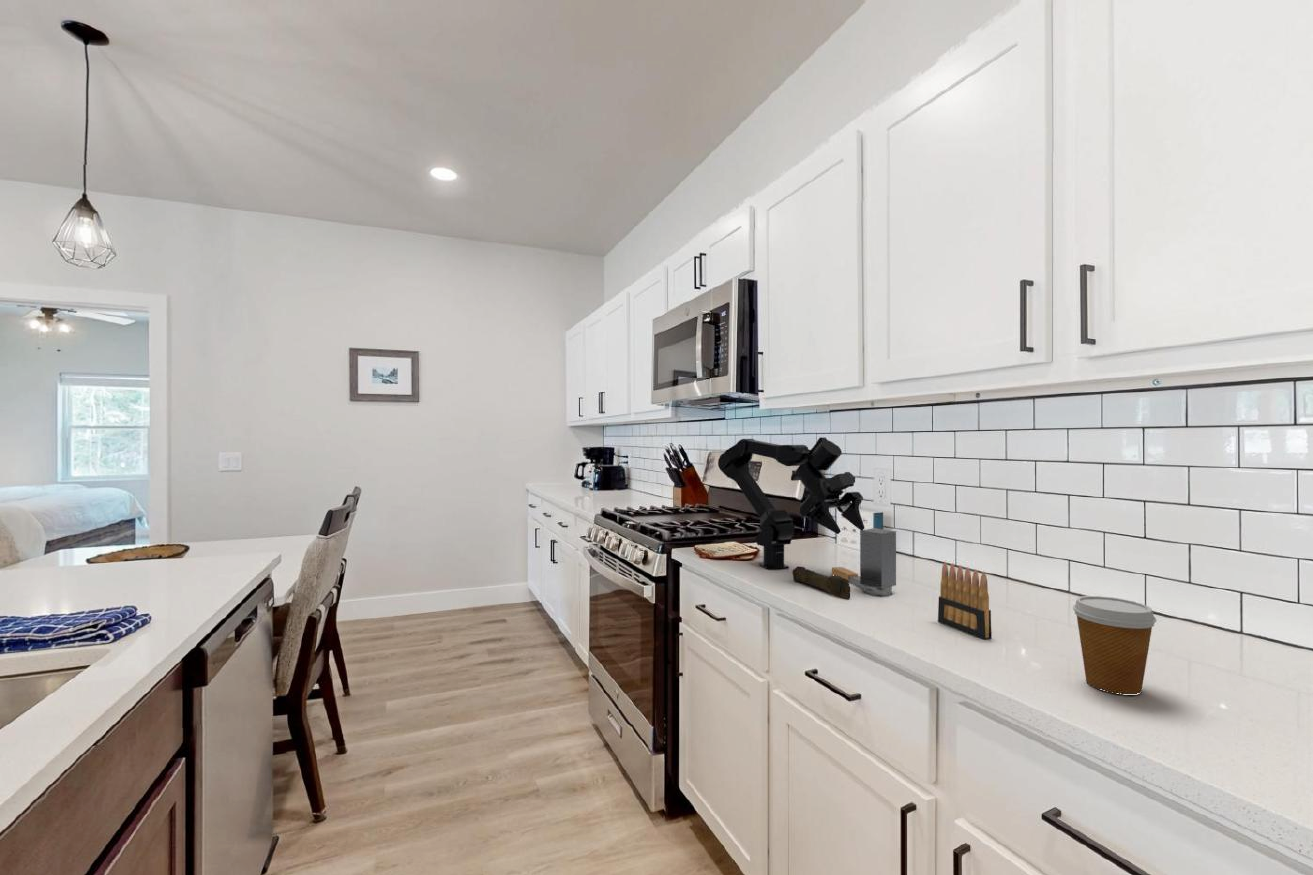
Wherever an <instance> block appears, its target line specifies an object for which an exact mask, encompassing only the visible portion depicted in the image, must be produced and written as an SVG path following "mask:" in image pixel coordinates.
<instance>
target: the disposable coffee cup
mask: <svg viewBox="0 0 1313 875" xmlns="http://www.w3.org/2000/svg"><path fill="white" fill-rule="evenodd" d="M1072 609H1073V611H1074V614H1075V615H1076V619H1077V627H1078V634H1079V642H1080V648H1081V654H1082V660H1083V666H1084V675H1085V681H1087V682H1088V683H1089V684H1090V685H1092V686H1094V687H1096V688H1098V689H1097V690H1099V689H1102V690H1105V691H1108V692H1113V693H1119V694H1120V693H1121V694H1137V693H1140V692H1141V691H1143V690H1142V689H1143V683H1144V678H1145V672H1146V668H1147V667H1146V666H1147V661H1148V660H1147V659H1148V655H1149V648H1150V641H1151V637H1152V636H1151V635H1152V630H1153V627H1154V626H1155V623H1156V622H1157V621H1158V620H1157V617H1156V616H1155V615H1154V612H1153V609H1152V607H1150V606H1148V605H1146V604H1143V603H1140V602H1136V601H1133V600H1128V599H1124V598H1117V597H1113V596H1112V597H1111V596H1110V597H1109V596H1103V595H1102V596H1101V595H1100V596H1099V595H1082V596H1079V597H1077V598H1076V600H1075V604H1074V605H1073V606H1072ZM1087 682H1086V683H1087ZM1088 683H1087V684H1088ZM1089 684H1088V685H1089ZM1090 685H1089V686H1090ZM1092 686H1091V687H1092ZM1094 687H1093V688H1094ZM1096 688H1095V689H1096ZM1108 692H1107V693H1108ZM1141 693H1142V692H1141Z"/></svg>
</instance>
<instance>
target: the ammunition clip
mask: <svg viewBox="0 0 1313 875" xmlns="http://www.w3.org/2000/svg"><path fill="white" fill-rule="evenodd" d="M954 564H955V563H951V564H950V567H949V566H948V563H947V562H946V561H944V562H943V564H942V568H941V580H940V590H939V591H940V595H939V596H938V603H937V604H938V606H937V612H938V613H937V622H938V623H939V624H941V625H944V626H947V627H950V628H952V629H955V630H958V631H959V632H963V633H965V634H967V635H970V636H973V637H975V638H978V639H981V640H983V641H985V640H990V639H992V636H993V635H992V633H993V632H992V610H991V609H990V595H989V588H988V585H989V584H988V578H987V575H986V571H982V572H981V576H980V577H979V572H978V570H977V569H976V568H975V569H974V570H973V573H972V574H971V571H970V568H969V566H968V567H966V568H965V570H964V571H963V568H962V565H959V566H958V568H957V571H956V568H955V565H954Z"/></svg>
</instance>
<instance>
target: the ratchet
mask: <svg viewBox="0 0 1313 875" xmlns="http://www.w3.org/2000/svg"><path fill="white" fill-rule="evenodd" d="M833 575H834V576H840V577H842V578H845V579H847V580H848V582H849V584H852V585H853V586H855V587H859V588H861V589H863V592H864V594H866V595H869V596H872V597H877V598H878V597H879V598H880V597H881V598H884V597H885V598H886V597H891V596H892V595H893V594H892V593H893V586H891V587H888V588H884V589H880V588H876V587H871V586H867V585H863V584H860V575H859V573H858V572H855V571H852V570H850V569H847V568H845V567H843V566H835V567H831V576H833Z"/></svg>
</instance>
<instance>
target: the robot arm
mask: <svg viewBox="0 0 1313 875" xmlns="http://www.w3.org/2000/svg"><path fill="white" fill-rule="evenodd" d="M842 452H843V451H842V449H841V448H840V446H839V445H837V444H835V442H832V441H831V440H829V439H827V437H822V436H821V437H819V438H818V439H817V441H816V443H815V444H814V445H813V447H812V448H811V449H809V447H808V446H807V445H805V444H777V443H772V442H767V441H761V440H756V439H754V438H741V439H740V440H738V441H737V443H736V444H733V446H731V447H730V448H727V449H726V450H725V451H724V452H723V453H721V455H719V458H718V462H717V464H718V465H717V467H718V468H719V470H720V472H722V474H723V475H725V477H728V478H729V479H730V480H733V481H734V482H735V483H736V484H737V486H738V487H739V489H740V491H741V492H742V494H743V495H744V497H745V498H746V499H747V501H748V502H749V504H750V505H751V506H752V508H753V510H754V511H755V512H756V514H757V515H758V517H759V524H760V525H759V527H760V529H761V531H760V532H759V533H758V534H757V535H756V537H755V540H756V544H757V545H758V546H762V548H763V551H762V552H763V554H762V555H763V557H762V558H763V559H762V560H763V562H759V563H758V565H759V566H761V567H763V568H765V569H766V570H777V569H778V570H779V569H780V570H782V569H789V568H790V565H787V564H785V545H790V544H791V542H792V540H793V537H794V535H795V524H794V522H793V521H794V519H793V518H791V517H790V515H789V514H788V511H786V510H785V509H776V508H775V507H774V505H773V504H772V503H771V501H770V499H769V498H768V496H766V494H765V492H764V491H763V490H762V488H761V486H759V484H758V482H756V480H755V478H754V477H753V476H752V474H751V473H750V463H749V462H751V461H752V459H753V456H754V455H757V456H762V457H766V458H771V459H774V460H776V461H777V463H779V464H781V465H784V466H785V467H797V469H795V470H791V476H790V480H791V481H793V482H794V481H795V482H796V481H799V482H800V483H801V484H802V485H803V487H805V489H806V492H805V495H806V496H807V497H806V498H805V500H804V501H803V502H802V503H801V504H800V505H799V508H798V509H799V510H798V512H799V514H800V515H801V516H802V518H803V519H805V518H807V520H811V521H813V522H814V523H816V524H818V525H821V526H822V527H824V528H826V529H828V530H829V531H831V532H833V533H835V534H837V535H839V534H840V533H841V532H842V531H841V528H840V526H839V524H838V523H837V521H836V520H835V518H834V517H833V515H832V514H831V512H830V509H833V508H836V510H837V511H838V512H839V513H841V514H840V515H841V516H842V517H843V518H844V519H845V520H847V521H848V522H849V523H851V524H852V525H853V526H854V527H855V528H857V529H858V530H865V529H866V528H865V527H866V526H865V525H864V522H863V519H862V515H861V512H860V505H861V504H862V501H863V499H864V496H863V495H862V494H861V493H860V492H859V491H850V492H849V491H847V492H845V493H844V490H845V489H847V488H849V487H851V488H852V487H854V486H855V483H856V477H855V475H853V473H851V471H845V472H844V473H838V474H835V475H834V476H830V477H826V476H825V475H824V473H823V472H822V471H828V470H829V469H830V468H832V466H833V465H834V464H835V462H837V460H838V459H839V458H840V456H841V455H842V454H843V453H842ZM843 493H844V494H843ZM841 495H843V496H842V497H841V498H840V496H841Z"/></svg>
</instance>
